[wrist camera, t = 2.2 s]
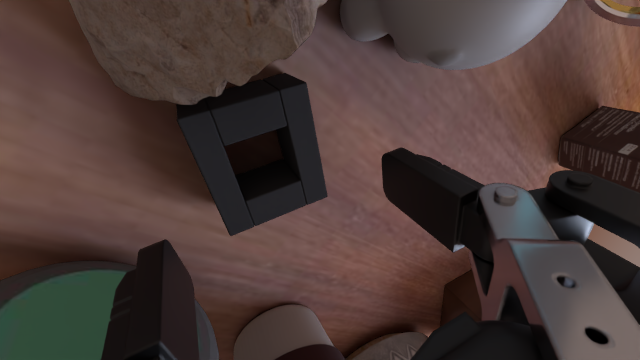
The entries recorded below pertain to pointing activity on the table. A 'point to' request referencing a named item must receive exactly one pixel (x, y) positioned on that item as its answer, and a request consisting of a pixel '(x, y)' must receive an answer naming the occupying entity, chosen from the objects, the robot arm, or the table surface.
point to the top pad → (248, 121)
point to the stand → (461, 299)
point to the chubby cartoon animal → (449, 27)
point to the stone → (191, 42)
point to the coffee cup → (285, 337)
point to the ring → (615, 12)
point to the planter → (390, 347)
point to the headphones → (69, 312)
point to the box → (605, 147)
